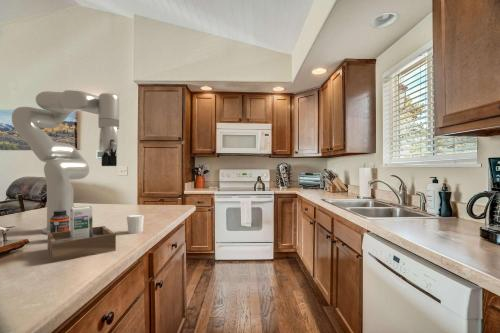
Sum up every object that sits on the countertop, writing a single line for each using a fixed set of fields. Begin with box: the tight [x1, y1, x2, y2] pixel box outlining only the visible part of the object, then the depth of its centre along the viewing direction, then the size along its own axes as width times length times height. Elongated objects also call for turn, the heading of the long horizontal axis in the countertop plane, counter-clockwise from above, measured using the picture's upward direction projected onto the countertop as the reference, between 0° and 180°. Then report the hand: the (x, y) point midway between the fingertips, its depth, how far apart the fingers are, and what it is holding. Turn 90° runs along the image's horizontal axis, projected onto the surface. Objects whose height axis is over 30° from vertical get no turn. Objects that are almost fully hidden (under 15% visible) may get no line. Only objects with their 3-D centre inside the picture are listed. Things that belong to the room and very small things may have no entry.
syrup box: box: [70, 205, 94, 240], centre depth 88 cm, size 6×6×14 cm
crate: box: [47, 225, 117, 263], centre depth 88 cm, size 16×17×6 cm
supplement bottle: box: [50, 210, 69, 233], centre depth 100 cm, size 6×6×11 cm
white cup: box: [126, 213, 145, 234], centre depth 113 cm, size 7×7×7 cm
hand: (108, 166), depth 108 cm, fingers open, 9 cm apart
